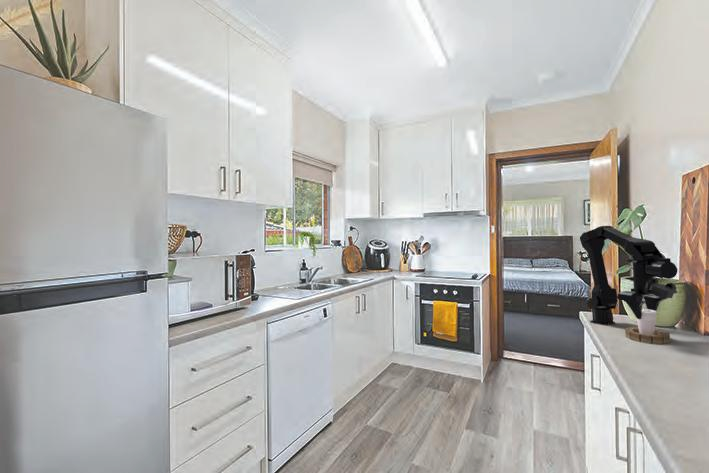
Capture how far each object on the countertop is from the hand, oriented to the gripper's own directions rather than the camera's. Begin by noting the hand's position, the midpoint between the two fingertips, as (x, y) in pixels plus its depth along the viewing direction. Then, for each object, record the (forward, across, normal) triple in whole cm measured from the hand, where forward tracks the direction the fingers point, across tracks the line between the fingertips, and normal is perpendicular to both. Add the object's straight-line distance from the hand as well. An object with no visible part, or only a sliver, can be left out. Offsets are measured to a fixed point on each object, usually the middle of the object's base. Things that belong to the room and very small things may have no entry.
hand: (645, 317), depth 121 cm
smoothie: (+7, 0, 0) cm, 7 cm away
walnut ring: (+7, 0, 0) cm, 7 cm away
